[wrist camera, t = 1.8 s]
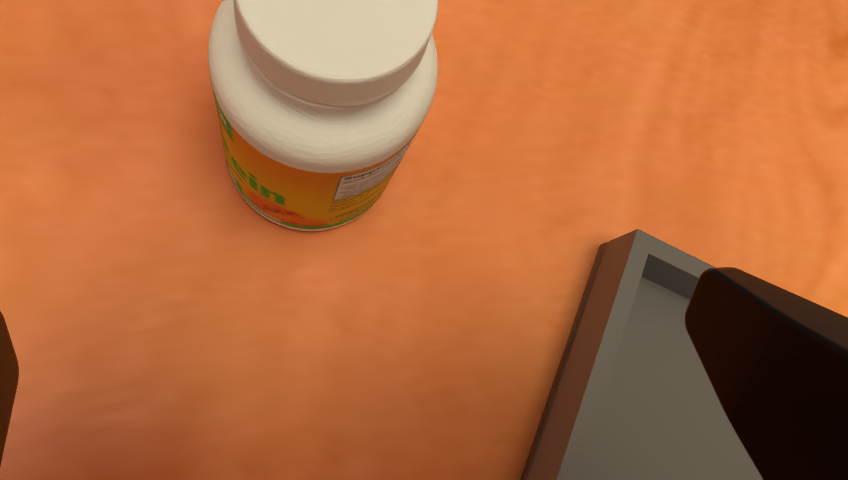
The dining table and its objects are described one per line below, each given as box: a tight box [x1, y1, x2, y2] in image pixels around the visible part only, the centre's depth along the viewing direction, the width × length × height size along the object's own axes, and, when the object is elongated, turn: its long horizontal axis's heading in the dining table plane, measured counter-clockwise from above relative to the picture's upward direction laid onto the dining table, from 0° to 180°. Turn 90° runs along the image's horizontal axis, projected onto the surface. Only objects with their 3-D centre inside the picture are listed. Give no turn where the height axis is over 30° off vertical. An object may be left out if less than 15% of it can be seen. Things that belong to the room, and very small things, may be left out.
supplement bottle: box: [208, 0, 438, 231], centre depth 17 cm, size 5×5×10 cm
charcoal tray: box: [521, 229, 763, 480], centre depth 21 cm, size 10×10×2 cm
